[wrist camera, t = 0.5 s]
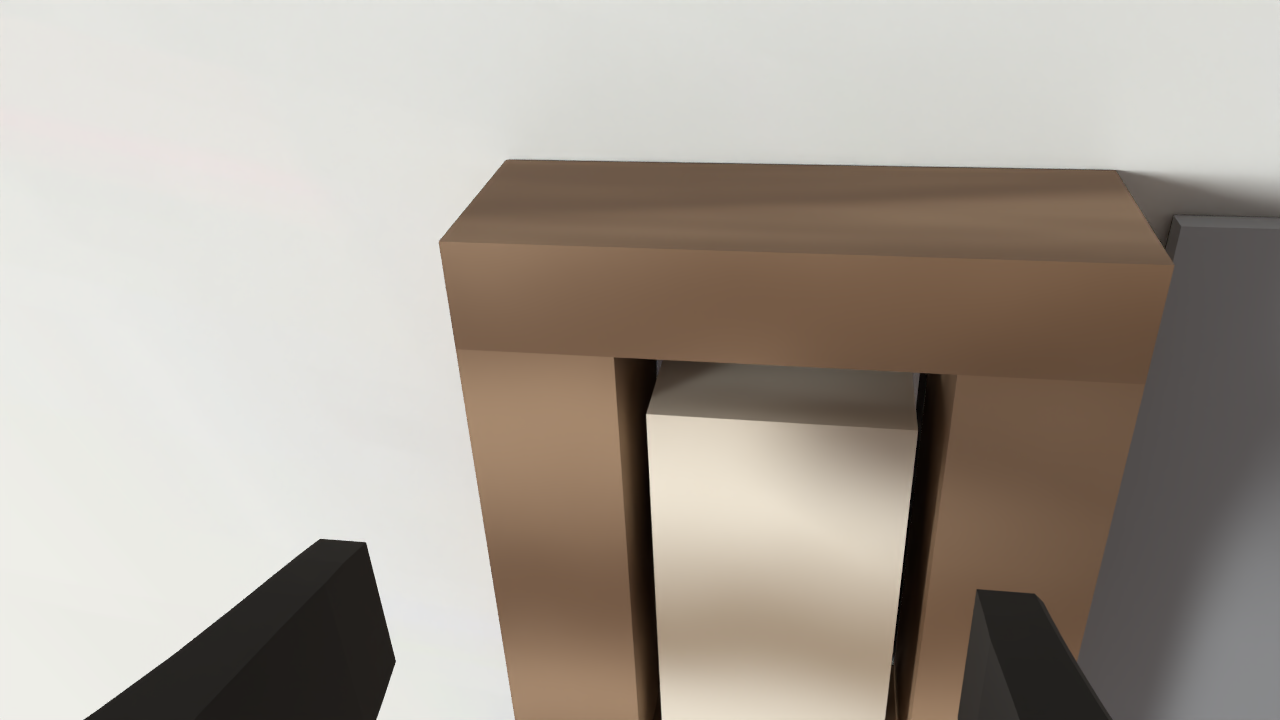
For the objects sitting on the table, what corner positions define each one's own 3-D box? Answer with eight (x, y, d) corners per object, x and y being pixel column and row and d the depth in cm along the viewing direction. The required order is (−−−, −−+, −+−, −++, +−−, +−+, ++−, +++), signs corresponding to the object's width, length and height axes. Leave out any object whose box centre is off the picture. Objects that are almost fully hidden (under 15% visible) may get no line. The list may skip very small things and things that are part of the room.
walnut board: (505, 160, 20) (438, 241, 16) (1115, 170, 18) (1174, 264, 14) (568, 687, 27) (530, 814, 24) (1001, 734, 25) (1023, 879, 22)
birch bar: (664, 355, 19) (645, 413, 17) (911, 367, 18) (917, 430, 17) (677, 688, 24) (663, 760, 22) (875, 709, 23) (877, 786, 21)
